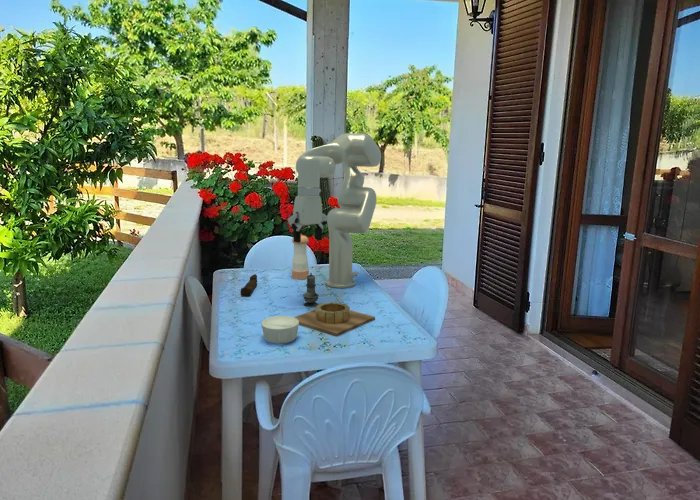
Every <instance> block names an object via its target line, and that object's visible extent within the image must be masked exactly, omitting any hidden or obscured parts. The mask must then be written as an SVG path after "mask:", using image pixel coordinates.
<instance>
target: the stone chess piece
mask: <svg viewBox="0 0 700 500" xmlns="http://www.w3.org/2000/svg"><path fill="white" fill-rule="evenodd" d="M305 286H306V292H305V293H303V294H302V297H303V300H304V301H305V302H304V303H303V306H304V307H308V308H316V307H317V305H319V303H318V302H317V301H318V299H319V296H320V294H318V293H317V291H316V286H317V285H316V277H315V275H314V274H313V273H312V272H309V275H308V276H307V279H306V284H305Z"/></svg>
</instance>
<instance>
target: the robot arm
mask: <svg viewBox="0 0 700 500" xmlns="http://www.w3.org/2000/svg"><path fill="white" fill-rule="evenodd" d="M381 161H382V152H381V148H380V147H379V146H378V145H377V142H376V141H375V140H374V139H373V138H372V137H371V136H370V135H368V134H366V133H359V132H358V133H357V132H356V133H355V132H353V133H351V132H350V133H349V132H348V133H347V132H345V133H342V134H340V135H339V136H338V137H336V138H334V140H332V141H331V142H329V143H327V144H323V145H320V146H317V147H314V148H310V149H308V150H306V151H304V152H303V153H302V154H301V155H300V156H298V157H297V160H296V162H295V170H296V172H297V196H295V198H294V202H293V203H294V204H293V212H292V213H293V214H291V216H290V217H288V218H287V222H288V224H289V227H290V228H291V230H292V231H293V235H292V236H293V237H292V238H293V239H294V242H298V243H300V242H301V234H302V232H301V229H302V227H303V226H315V228H314V240H316V241H322V239H323V229H324V226H325V225H326V224H327V228H328V238H329V239H328V241H329V244H328V245H329V246H328V247H329V249H328V251H329V252H328V255H329V256H328V263H329V264H328V271H329V272H328V278H327V279H326V280H325V283H324V284H325V285H326V286H327V287H330V288H336V289H347V288H353V287H355V286H356V283H357V282H356V280H355V279H354V278H356V277H358V276H359V272H357V271H353V250H354V249H353V248H354V247H353V240H352V237H351V235H350V234H349V233H352V234H365V233H367V232H368V230H369V229H370V226H371V223H372V219H373V216H374V214H375V213H374V212H375V209H376V207H377V206H376V205H377V193H376V191H375V190H374V189H373V187H372V188H371V187H368V186H364V183H365V178H364V176H363V174H362V172H361V171H360V170H359V169H358V167H367V168H368V167H370V168H374V167H377V166H379V164H380V163H381ZM339 164H342V170H343V174H344V175H343V176H344V177H343V181H342V185H341V187H340V190H339V193H338V196H337V205H338V206H339V207H337V208H336V207H335V208H332V209H331V210H329V211H328V213H327V214H325V213H323V205H322V204H323V203H322V198H321V196H320V193H321V192H322V189H321V188H320V185H321V182H320V181H321V180H320V179H321V178H324V179H326V178H329V177H331V176H333V175H334V174H335V173H336V165H339Z"/></svg>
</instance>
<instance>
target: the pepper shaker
mask: <svg viewBox="0 0 700 500" xmlns="http://www.w3.org/2000/svg"><path fill="white" fill-rule="evenodd" d="M309 241H310V240H309V238H308V236H306V235H303V234H302V233H301V242H300V243H298V242H294V239H293V237H292V239H291V243H293V257H292V269H291V278H292V279H293V280H299V281H300V280H307V276H308V275H310V271H309V261H308V253H307V251H308V250H307V248H308V247H307V244H308V243H309Z"/></svg>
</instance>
